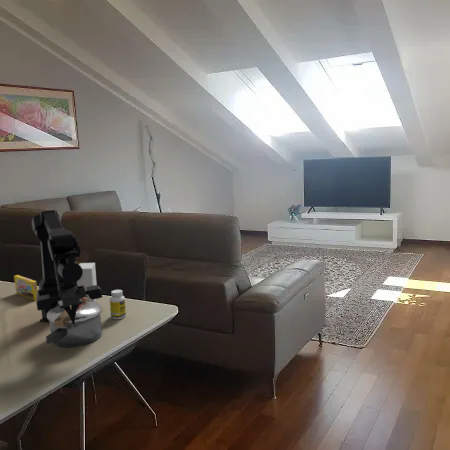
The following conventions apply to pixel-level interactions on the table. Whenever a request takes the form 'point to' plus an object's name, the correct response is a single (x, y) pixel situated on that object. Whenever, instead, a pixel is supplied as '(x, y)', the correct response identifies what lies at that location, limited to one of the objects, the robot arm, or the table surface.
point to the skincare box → (88, 277)
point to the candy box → (26, 287)
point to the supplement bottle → (117, 305)
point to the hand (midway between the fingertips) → (73, 323)
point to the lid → (82, 314)
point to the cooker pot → (75, 333)
